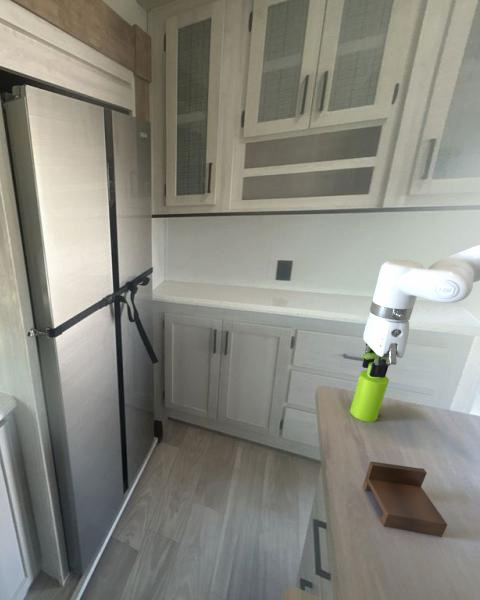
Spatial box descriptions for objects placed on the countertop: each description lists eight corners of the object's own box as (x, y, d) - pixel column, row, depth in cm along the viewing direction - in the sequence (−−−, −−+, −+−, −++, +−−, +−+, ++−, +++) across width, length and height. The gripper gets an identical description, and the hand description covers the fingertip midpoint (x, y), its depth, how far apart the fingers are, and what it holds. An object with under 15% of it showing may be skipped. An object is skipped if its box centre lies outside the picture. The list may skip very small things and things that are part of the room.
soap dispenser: (341, 407, 97) (356, 348, 89) (368, 407, 96) (385, 348, 88) (353, 421, 92) (370, 361, 84) (382, 422, 90) (401, 360, 83)
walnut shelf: (411, 499, 71) (423, 468, 67) (439, 542, 63) (454, 510, 60) (361, 490, 74) (370, 461, 70) (381, 530, 66) (393, 499, 62)
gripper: (431, 326, 73) (408, 393, 80) (391, 297, 87) (374, 356, 94) (389, 324, 75) (370, 389, 82) (357, 297, 90) (343, 354, 97)
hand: (373, 371), depth 88 cm, fingers closed on soap dispenser, 3 cm apart
